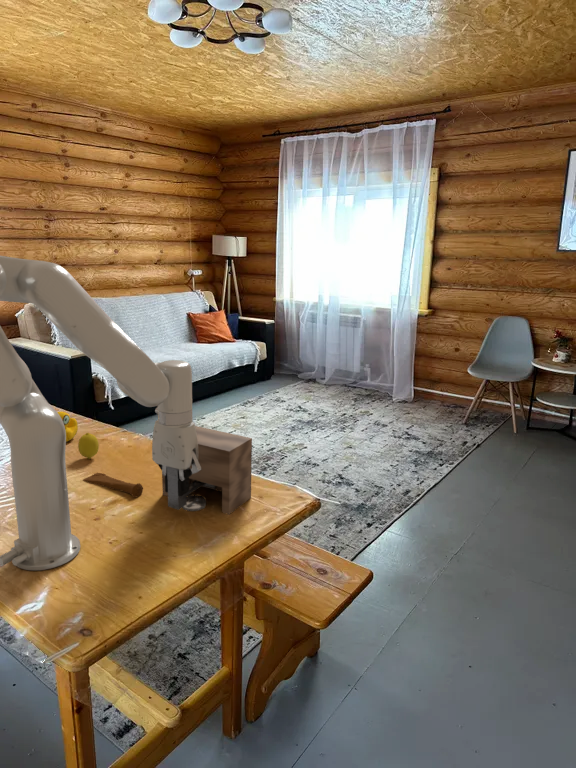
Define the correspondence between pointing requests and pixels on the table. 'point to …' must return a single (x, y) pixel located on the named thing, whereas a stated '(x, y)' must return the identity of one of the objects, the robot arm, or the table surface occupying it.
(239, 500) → the wooden bridge block
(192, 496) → the steel token
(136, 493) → the primitive tool
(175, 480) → the hoe
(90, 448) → the lemon
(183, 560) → the table surface
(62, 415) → the duckling
